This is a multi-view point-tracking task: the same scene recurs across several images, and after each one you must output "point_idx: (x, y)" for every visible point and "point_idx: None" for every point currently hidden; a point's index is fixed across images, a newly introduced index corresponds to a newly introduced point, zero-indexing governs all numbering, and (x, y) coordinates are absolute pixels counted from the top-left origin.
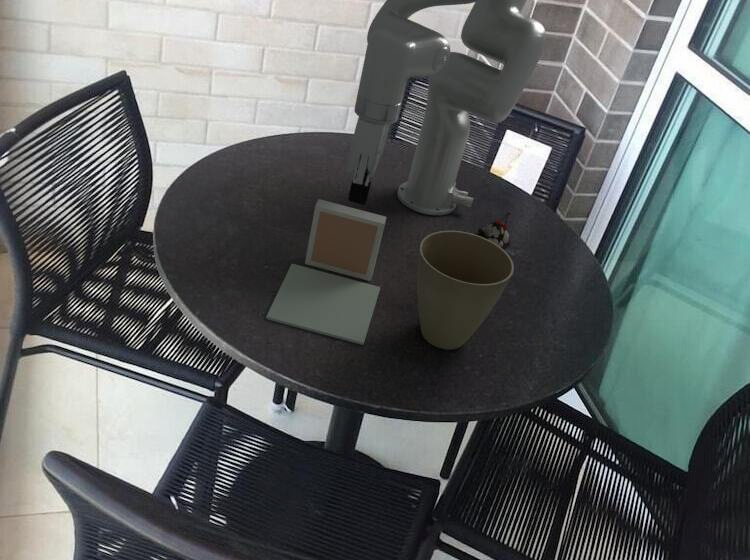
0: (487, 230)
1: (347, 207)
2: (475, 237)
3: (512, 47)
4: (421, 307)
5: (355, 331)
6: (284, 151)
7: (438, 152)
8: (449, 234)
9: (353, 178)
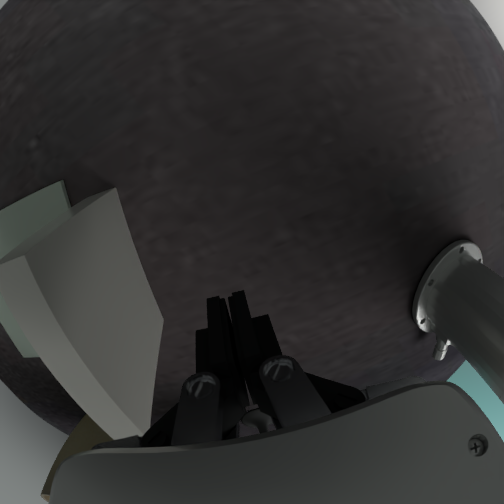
0: None
1: (78, 363)
2: None
3: None
4: (69, 436)
5: (26, 345)
6: (462, 21)
7: (495, 370)
8: None
9: (179, 403)
